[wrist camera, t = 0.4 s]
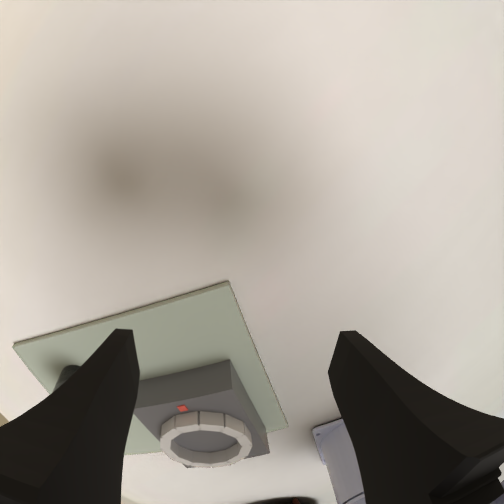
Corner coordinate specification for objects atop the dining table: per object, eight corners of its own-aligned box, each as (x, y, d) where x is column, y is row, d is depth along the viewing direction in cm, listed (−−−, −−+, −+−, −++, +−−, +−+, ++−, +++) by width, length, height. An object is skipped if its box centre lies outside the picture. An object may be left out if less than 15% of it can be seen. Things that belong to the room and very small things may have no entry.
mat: (287, 423, 28) (288, 427, 27) (112, 452, 28) (112, 455, 28) (228, 281, 21) (228, 284, 20) (14, 343, 21) (12, 347, 21)
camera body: (265, 427, 27) (271, 464, 23) (187, 443, 27) (186, 478, 23) (229, 359, 23) (233, 402, 19) (135, 381, 23) (127, 421, 19)
